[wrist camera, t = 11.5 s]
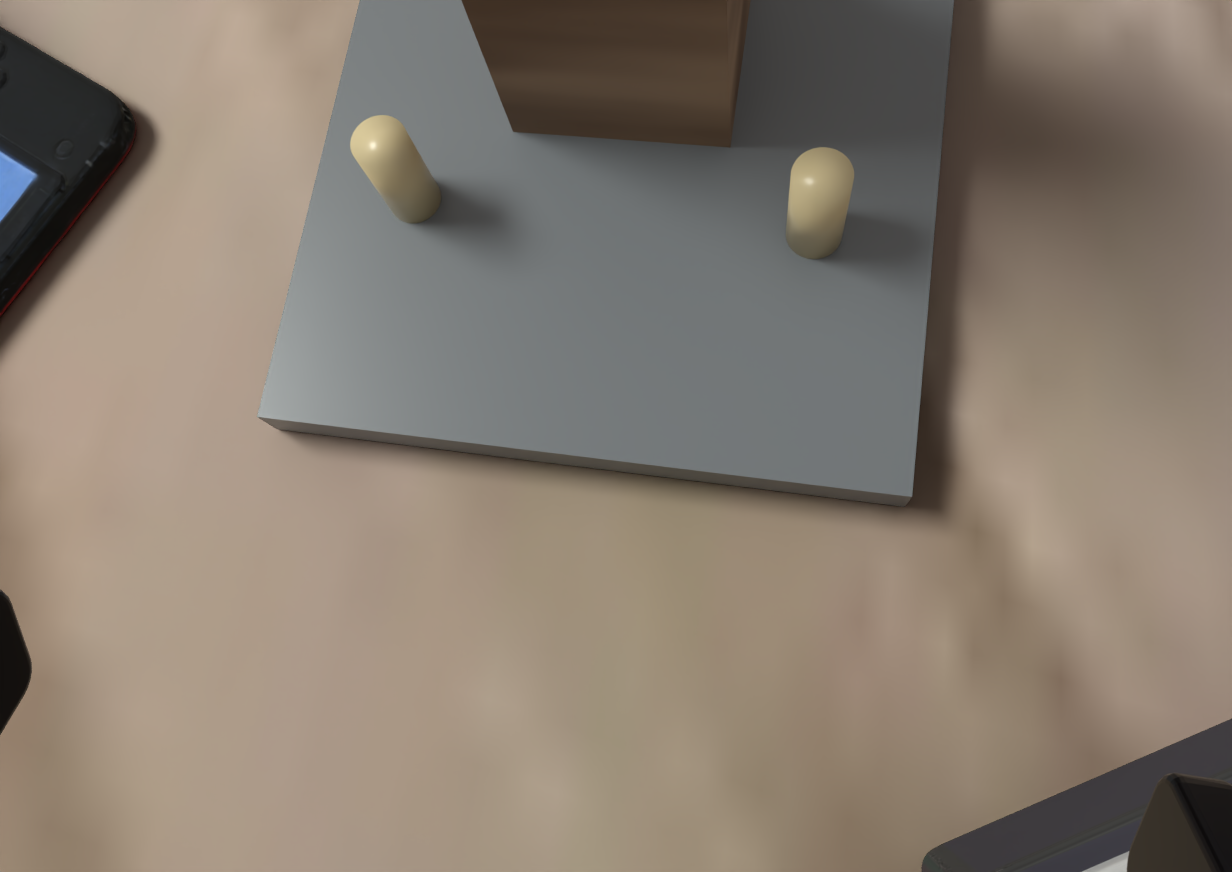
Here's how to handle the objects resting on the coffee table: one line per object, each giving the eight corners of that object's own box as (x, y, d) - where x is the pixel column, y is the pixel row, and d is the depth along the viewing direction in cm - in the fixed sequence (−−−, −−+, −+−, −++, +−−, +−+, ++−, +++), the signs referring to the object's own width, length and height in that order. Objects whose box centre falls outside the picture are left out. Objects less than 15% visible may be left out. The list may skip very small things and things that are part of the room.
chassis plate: (904, 506, 22) (934, 467, 18) (277, 429, 24) (199, 380, 20) (970, -260, 26) (1003, -402, 23) (444, -267, 28) (404, -398, 25)
